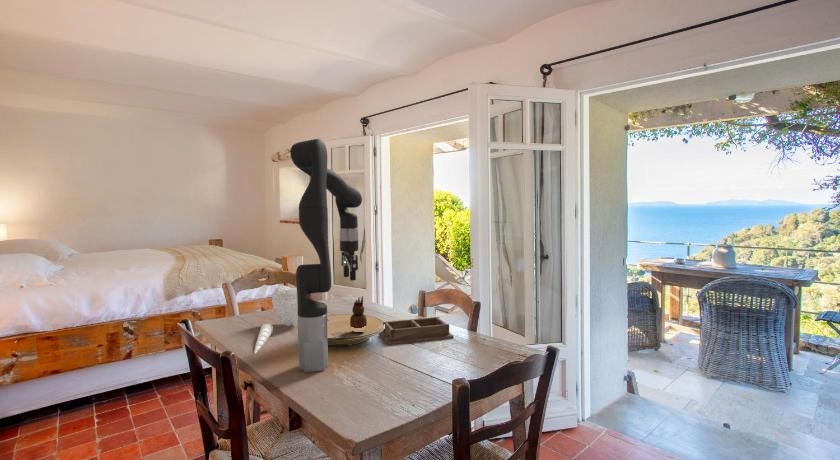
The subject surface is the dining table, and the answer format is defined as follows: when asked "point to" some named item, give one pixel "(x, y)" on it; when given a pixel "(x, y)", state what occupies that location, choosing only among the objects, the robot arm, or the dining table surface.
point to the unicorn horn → (263, 336)
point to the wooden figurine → (358, 315)
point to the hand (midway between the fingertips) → (349, 278)
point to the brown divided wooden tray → (415, 330)
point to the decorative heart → (286, 304)
